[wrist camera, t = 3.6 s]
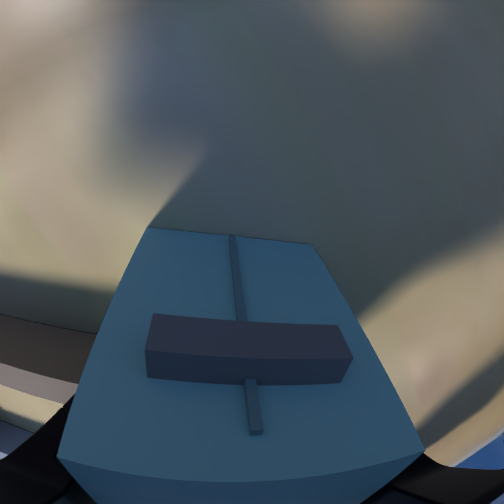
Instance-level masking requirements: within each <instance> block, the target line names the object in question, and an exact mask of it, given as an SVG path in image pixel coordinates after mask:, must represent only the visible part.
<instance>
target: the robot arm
mask: <svg viewBox="0 0 504 504" xmlns="http://www.w3.org/2000/svg"><path fill="white" fill-rule="evenodd" d="M74 396H75V394H74V395H73V396H72V397H71V398H70V399H69V400H68V401H67V402H66V403H65V404H64V405H63V408H60V409H59V410H58V411H57V412H56V414H55V415H54V416H53V417H52V418H51V419H50V420H49V421H48V422H47V423H46V424H45V425H43V426H42V427H41V428H40V429H39V430H38V431H37V432H35V433H34V434H33V435H32V436H31V437H29V438H28V439H27V440H26V441H25V442H23V443H22V444H21V445H20V446H18V447H17V448H16V449H15V450H13V451H12V452H11V453H10V454H8V455H7V456H6V457H4V458H2V459H1V460H0V504H97V503H96V502H95V501H94V500H93V499H92V498H91V497H90V496H89V494H88V493H87V492H86V491H85V490H84V489H83V488H82V487H81V486H80V485H79V483H78V482H77V481H76V480H75V479H74V478H73V476H72V475H71V474H70V473H69V472H68V470H67V469H66V468H65V467H64V466H63V464H62V463H61V462H60V460H59V459H58V458H57V453H58V449H59V446H60V442H61V439H62V435H63V431H64V428H65V425H66V421H67V418H68V415H69V412H70V408H71V405H72V402H73V399H74ZM360 504H504V469H500V470H485V469H468V468H456V467H448V466H444V465H442V464H439V463H437V462H435V461H434V460H432V459H431V458H430V457H428V456H427V455H425V454H424V453H422V454H421V455H420V456H419V457H418V458H417V459H416V460H414V461H413V462H412V463H411V464H410V465H409V466H408V467H406V468H405V469H404V470H403V471H402V472H401V473H399V474H398V475H397V476H396V477H394V478H393V479H392V480H391V481H389V482H388V483H387V484H386V485H384V486H383V487H382V488H380V489H379V490H378V491H376V492H375V493H374V494H372V495H371V496H370V497H368V498H367V499H365V500H364V501H363V502H361V503H360Z"/></svg>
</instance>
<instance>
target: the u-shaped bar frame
mask: <svg viewBox="0 0 504 504" xmlns="http://www.w3.org/2000/svg"><path fill="white" fill-rule="evenodd" d="M96 336H97V334H91V333H85V332H79V331H74V330H69V329H63V328H58V327H53V326H49V325H44V324H39V323H35V322H30V321H26V320H22V319H18V318H14V317H10V316H6V315H2V314H0V384H1V385H4V386H7V387H10V388H13V389H16V390H19V391H22V392H25V393H28V394H31V395H34V396H38V397H41V398H44V399H48V400H51V401H55V402H59V403H63V404H65V403H66V402H67V401H68V400H69V399H70V398H71V397H72V396H73V395H74V394H75V393H76V390H77V387H78V384H79V381H80V379H81V376H82V373H83V370H84V368H85V365H86V362H87V359H88V357H89V354H90V352H91V349H92V346H93V344H94V341H95V339H96ZM33 434H34V433H32V432H29V431H26V430H23V429H21V428H18V427H15V426H13V425H10V424H8V423H5V422H3V421H0V459H2V458H4V457H6V456H7V455H8V454H10V453H11V452H12V451H13V450H15V449H16V448H17V447H18V446H20V445H21V444H22V443H23V442H25V441H26V440H27V439H28V438H29V437H31V436H32V435H33Z"/></svg>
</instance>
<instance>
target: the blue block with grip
mask: <svg viewBox="0 0 504 504" xmlns="http://www.w3.org/2000/svg"><path fill="white" fill-rule="evenodd" d="M424 451H425V448H424V446H423V444H422V442H421V440H420V437H419V435H418V433H417V431H416V429H415V427H414V425H413V423H412V421H411V419H410V417H409V415H408V413H407V411H406V409H405V407H404V405H403V403H402V401H401V400H400V398H399V396H398V394H397V392H396V390H395V388H394V386H393V384H392V382H391V380H390V379H389V377H388V375H387V373H386V371H385V369H384V367H383V365H382V364H381V362H380V360H379V358H378V356H377V354H376V353H375V351H374V349H373V347H372V345H371V344H370V342H369V340H368V338H367V336H366V335H365V333H364V331H363V329H362V328H361V326H360V324H359V322H358V321H357V319H356V317H355V315H354V314H353V312H352V310H351V308H350V307H349V305H348V303H347V302H346V300H345V298H344V297H343V295H342V293H341V291H340V290H339V288H338V286H337V285H336V283H335V281H334V280H333V278H332V276H331V275H330V273H329V271H328V270H327V268H326V267H325V265H324V263H323V262H322V260H321V258H320V257H319V255H318V254H317V252H316V250H315V249H314V247H313V245H310V244H301V243H292V242H283V241H274V240H265V239H256V238H246V237H237V236H234V235H230V236H228V235H218V234H208V233H198V232H189V231H179V230H168V229H158V228H148V227H147V228H146V230H145V232H144V234H143V236H142V238H141V240H140V242H139V243H138V245H137V247H136V249H135V252H134V254H133V256H132V258H131V260H130V262H129V264H128V266H127V268H126V270H125V272H124V274H123V276H122V279H121V281H120V283H119V285H118V287H117V289H116V292H115V294H114V296H113V298H112V301H111V303H110V305H109V308H108V310H107V312H106V315H105V317H104V319H103V322H102V324H101V326H100V329H99V331H98V334H97V336H96V339H95V341H94V344H93V346H92V349H91V352H90V354H89V357H88V359H87V362H86V365H85V368H84V370H83V373H82V376H81V379H80V381H79V384H78V387H77V390H76V393H75V396H74V399H73V402H72V405H71V408H70V412H69V415H68V418H67V421H66V425H65V428H64V431H63V435H62V439H61V442H60V446H59V449H58V453H57V458H58V459H59V460H60V462H61V463H62V464H63V466H64V467H65V468H66V469H67V470H68V472H69V473H70V474H71V475H72V476H73V478H74V479H75V480H76V481H77V482H78V483H79V485H80V486H81V487H82V488H83V489H84V490H85V491H86V492H87V493H88V494H89V496H90V497H91V498H92V499H93V500H94V501H95V502H96V503H97V504H360V503H361V502H363V501H364V500H365V499H367V498H368V497H370V496H371V495H372V494H374V493H375V492H376V491H378V490H379V489H380V488H382V487H383V486H384V485H386V484H387V483H388V482H389V481H391V480H392V479H393V478H394V477H396V476H397V475H398V474H399V473H401V472H402V471H403V470H404V469H405V468H406V467H408V466H409V465H410V464H411V463H412V462H413V461H414V460H416V459H417V458H418V457H419V456H420V455H421V454H422V453H423V452H424Z"/></svg>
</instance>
